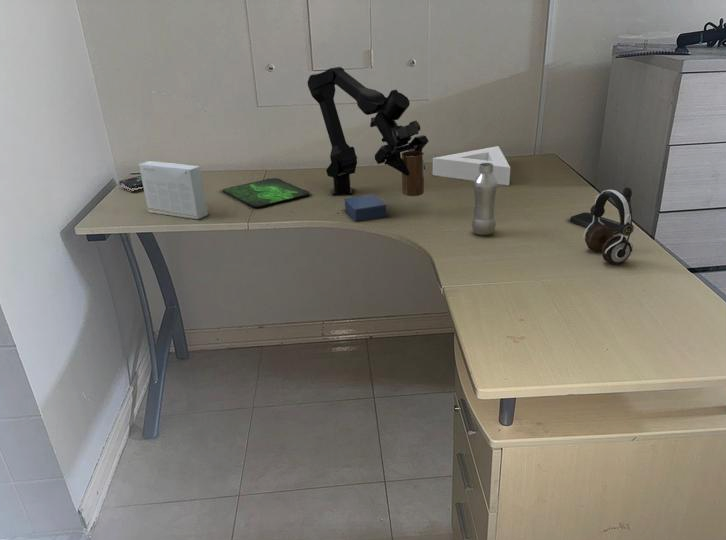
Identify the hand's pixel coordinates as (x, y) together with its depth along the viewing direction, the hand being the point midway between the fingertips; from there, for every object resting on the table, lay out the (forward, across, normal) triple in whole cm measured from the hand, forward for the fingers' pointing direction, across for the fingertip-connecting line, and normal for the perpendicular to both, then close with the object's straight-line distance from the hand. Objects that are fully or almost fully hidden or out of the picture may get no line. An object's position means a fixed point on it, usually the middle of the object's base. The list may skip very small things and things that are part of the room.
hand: (416, 172), depth 194 cm
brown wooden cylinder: (+4, 0, +6) cm, 7 cm away
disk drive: (-59, -43, +78) cm, 107 cm away
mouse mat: (-29, -18, +49) cm, 60 cm away
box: (0, -10, +19) cm, 21 cm away
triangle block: (-2, +45, +21) cm, 49 cm away
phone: (+42, +28, -23) cm, 56 cm away
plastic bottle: (+28, +1, -8) cm, 29 cm away
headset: (+52, +9, -33) cm, 62 cm away
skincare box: (-32, -50, +52) cm, 79 cm away
